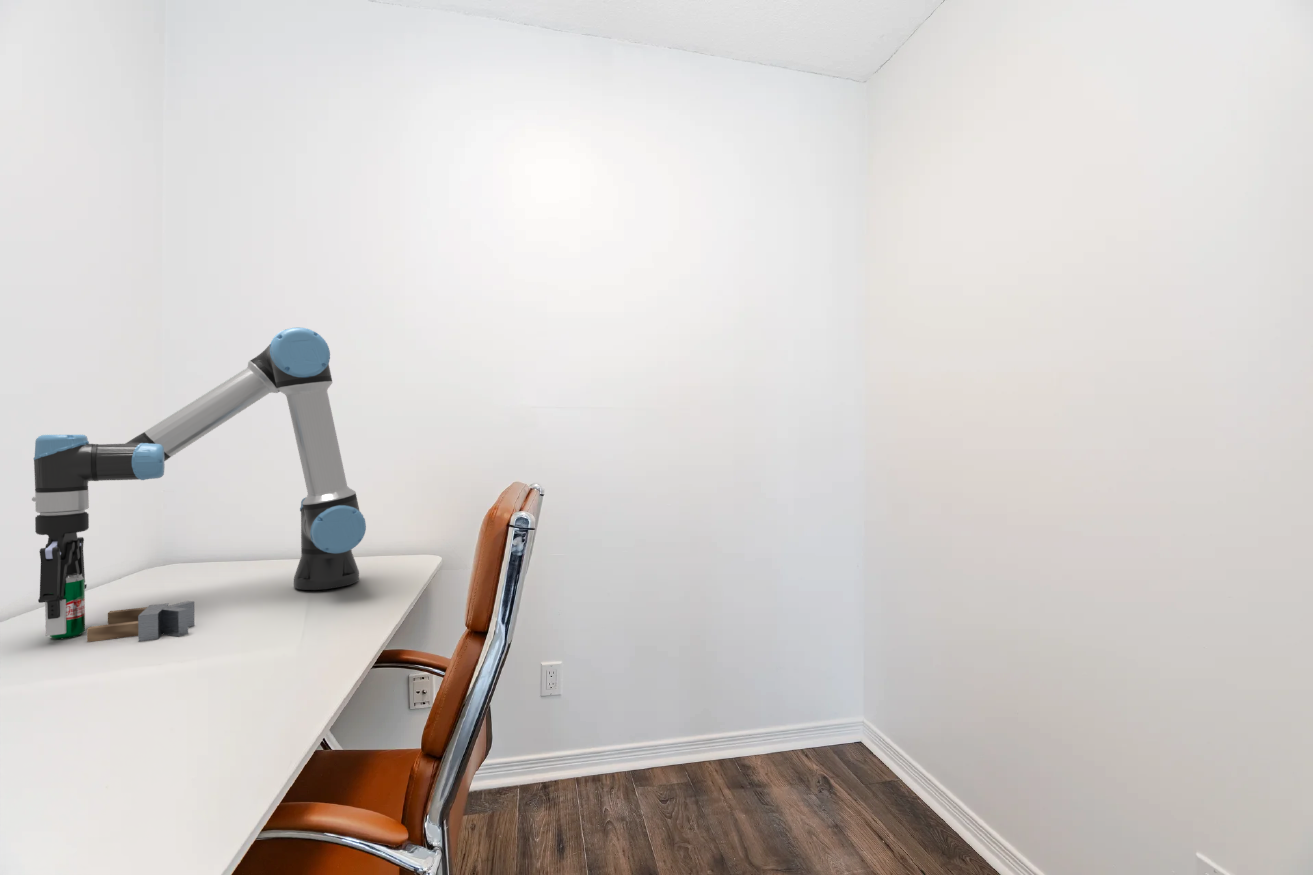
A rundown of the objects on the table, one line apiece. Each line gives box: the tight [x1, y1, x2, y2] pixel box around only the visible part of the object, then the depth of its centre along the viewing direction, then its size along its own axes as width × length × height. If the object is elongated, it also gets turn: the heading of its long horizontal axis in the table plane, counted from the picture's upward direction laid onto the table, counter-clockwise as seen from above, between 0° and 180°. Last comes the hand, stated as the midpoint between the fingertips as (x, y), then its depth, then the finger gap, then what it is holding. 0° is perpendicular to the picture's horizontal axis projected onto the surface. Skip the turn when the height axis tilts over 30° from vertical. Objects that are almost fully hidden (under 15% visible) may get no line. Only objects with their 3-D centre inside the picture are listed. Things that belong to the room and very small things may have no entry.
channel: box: [86, 606, 148, 643], centre depth 124 cm, size 8×13×2 cm, turn 28°
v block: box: [137, 600, 195, 642], centre depth 121 cm, size 8×8×5 cm
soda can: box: [49, 573, 86, 641], centre depth 119 cm, size 5×5×12 cm
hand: (64, 628), depth 119 cm, fingers open, 7 cm apart
